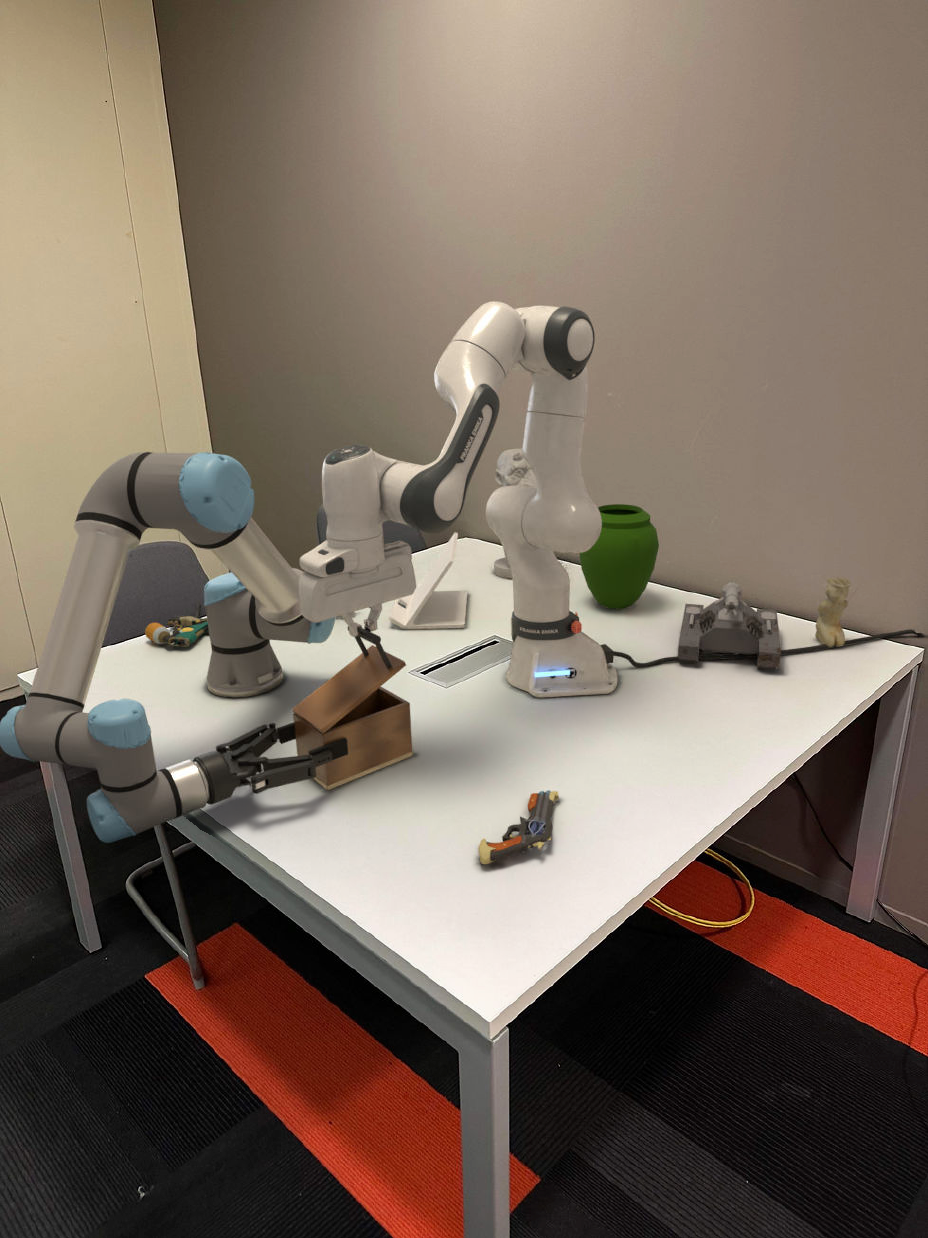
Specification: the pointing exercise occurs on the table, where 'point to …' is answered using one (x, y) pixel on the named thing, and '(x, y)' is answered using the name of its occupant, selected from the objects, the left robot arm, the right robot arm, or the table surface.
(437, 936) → the table surface
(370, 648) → the lid
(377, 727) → the chest
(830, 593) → the sculpture
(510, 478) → the bust sculpture
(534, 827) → the toy gun
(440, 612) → the tablet stand
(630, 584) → the vase
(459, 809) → the table surface
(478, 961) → the table surface
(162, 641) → the spray gun
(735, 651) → the toy
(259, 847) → the table surface
